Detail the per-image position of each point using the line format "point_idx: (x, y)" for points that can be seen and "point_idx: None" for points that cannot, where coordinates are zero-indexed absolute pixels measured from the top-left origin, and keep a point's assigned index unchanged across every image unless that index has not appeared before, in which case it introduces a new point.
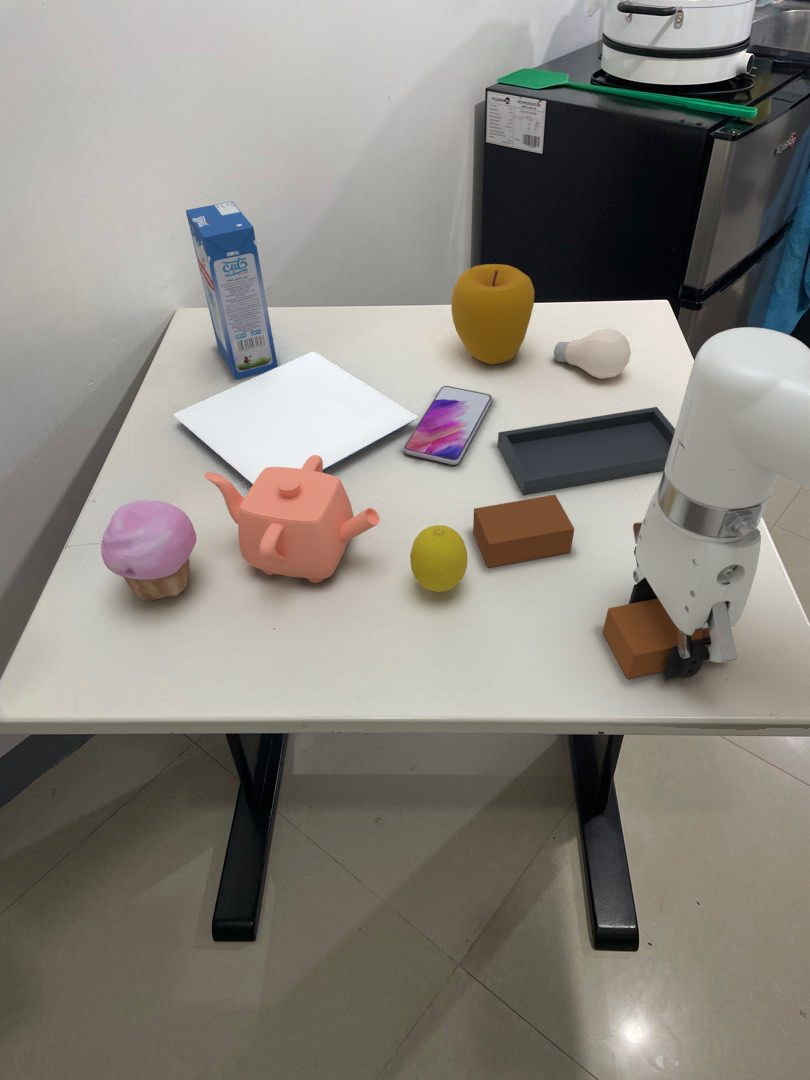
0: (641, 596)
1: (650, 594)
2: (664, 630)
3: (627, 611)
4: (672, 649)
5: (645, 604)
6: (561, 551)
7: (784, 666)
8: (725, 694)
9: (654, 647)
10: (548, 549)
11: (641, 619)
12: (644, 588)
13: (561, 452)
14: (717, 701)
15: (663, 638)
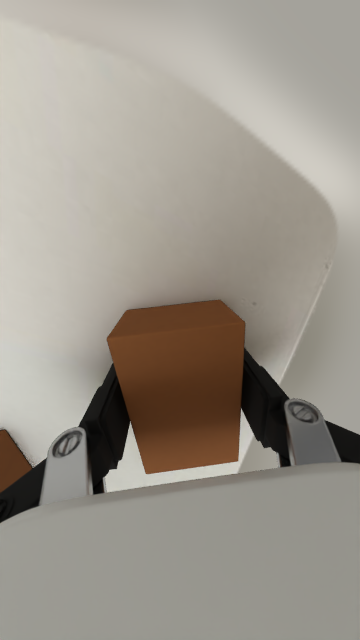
0: (123, 437)
1: (119, 425)
2: (204, 421)
3: (155, 456)
4: (265, 446)
5: (142, 433)
6: (6, 445)
7: (260, 189)
8: (274, 314)
9: (233, 440)
10: (8, 469)
11: (175, 445)
12: (114, 455)
13: None
14: (280, 328)
15: (219, 426)
